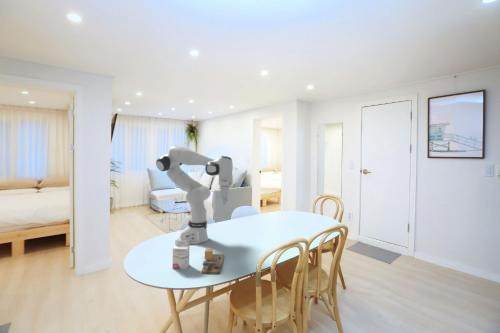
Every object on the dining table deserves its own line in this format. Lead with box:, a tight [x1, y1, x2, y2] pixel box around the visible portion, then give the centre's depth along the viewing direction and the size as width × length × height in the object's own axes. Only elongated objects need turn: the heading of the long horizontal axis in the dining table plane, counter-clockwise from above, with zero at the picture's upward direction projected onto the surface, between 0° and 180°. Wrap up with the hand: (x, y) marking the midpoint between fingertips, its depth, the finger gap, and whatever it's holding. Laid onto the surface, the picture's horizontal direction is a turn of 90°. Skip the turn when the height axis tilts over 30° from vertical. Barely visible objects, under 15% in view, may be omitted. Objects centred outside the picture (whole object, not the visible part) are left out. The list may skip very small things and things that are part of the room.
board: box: [200, 253, 225, 275], centre depth 144 cm, size 10×22×4 cm, turn 0°
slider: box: [204, 248, 219, 261], centre depth 145 cm, size 8×4×7 cm, turn 90°
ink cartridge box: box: [172, 239, 190, 270], centre depth 140 cm, size 9×5×15 cm, turn 92°
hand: (225, 202), depth 159 cm, fingers open, 8 cm apart
